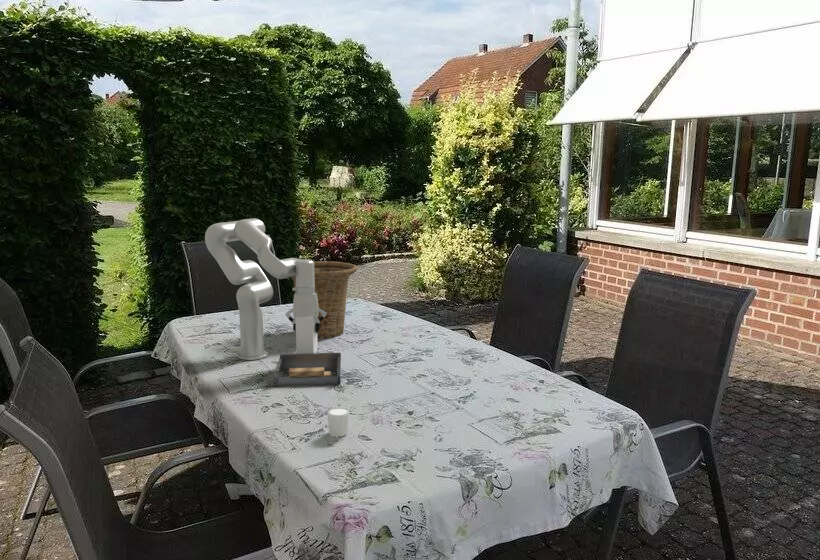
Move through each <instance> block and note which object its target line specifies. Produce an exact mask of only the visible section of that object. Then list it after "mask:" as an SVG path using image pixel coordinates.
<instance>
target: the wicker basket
mask: <svg viewBox="0 0 820 560" xmlns="http://www.w3.org/2000/svg"><path fill="white" fill-rule="evenodd" d="M313 262H314V275H315V293H316V294H317V298H318V307H319V308H321V309H322V310H324V311H325V312H327V314H326V316H325V317H324V319H323V320H322V321H321V322H320V330H318V333H317V338H319V339H324V338H325V337H326V338H327V339H330V338H332V337H334V338H335V337H337V336H341V335H342V334H344V329H345V319H346V318H345V317H346V305H347V295H348V294H347V293H348V286H349V285H348V284H349V283H348V282H349V279H350V277H351V276H352V275H353V274H355V273H356V272H357V270H358V268H357V265H355V264H352V263H349V262H343V261H342V262H341V261H325V260H324V261H320V260H319V261H313ZM291 279H292V281H293V288H294V287H296V276H292V277H291ZM295 293H296V292H295V291H294V294H295ZM321 316H322V313H321V312H319V315H318V317H319V318H320V317H321Z"/></svg>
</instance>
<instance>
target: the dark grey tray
mask: <svg viewBox="0 0 820 560" xmlns="http://www.w3.org/2000/svg"><path fill="white" fill-rule="evenodd" d="M341 360H342V353H341V352H318V353H317V352H315V353H302V354H297V353H280V354H279V358H278V361H277V364H276V366H275V370H274V377H275V378H274V380H275V381H274V383H275V385H274V386H275V387H290V386H291V387H292V386H293V387H295V386H296V387H297V386H300V387H301V386H329V385H331V386H332V385H336V386H337V384H340V385H341V380H342V378H341V377H342V361H341ZM318 367H324V372H330V370H334V371H336V375H331V376H319V377H290V376H288V377H286V376H285V377H283V375H284V374H283V373H284V372H283V371H289V369H290V368H318Z"/></svg>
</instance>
